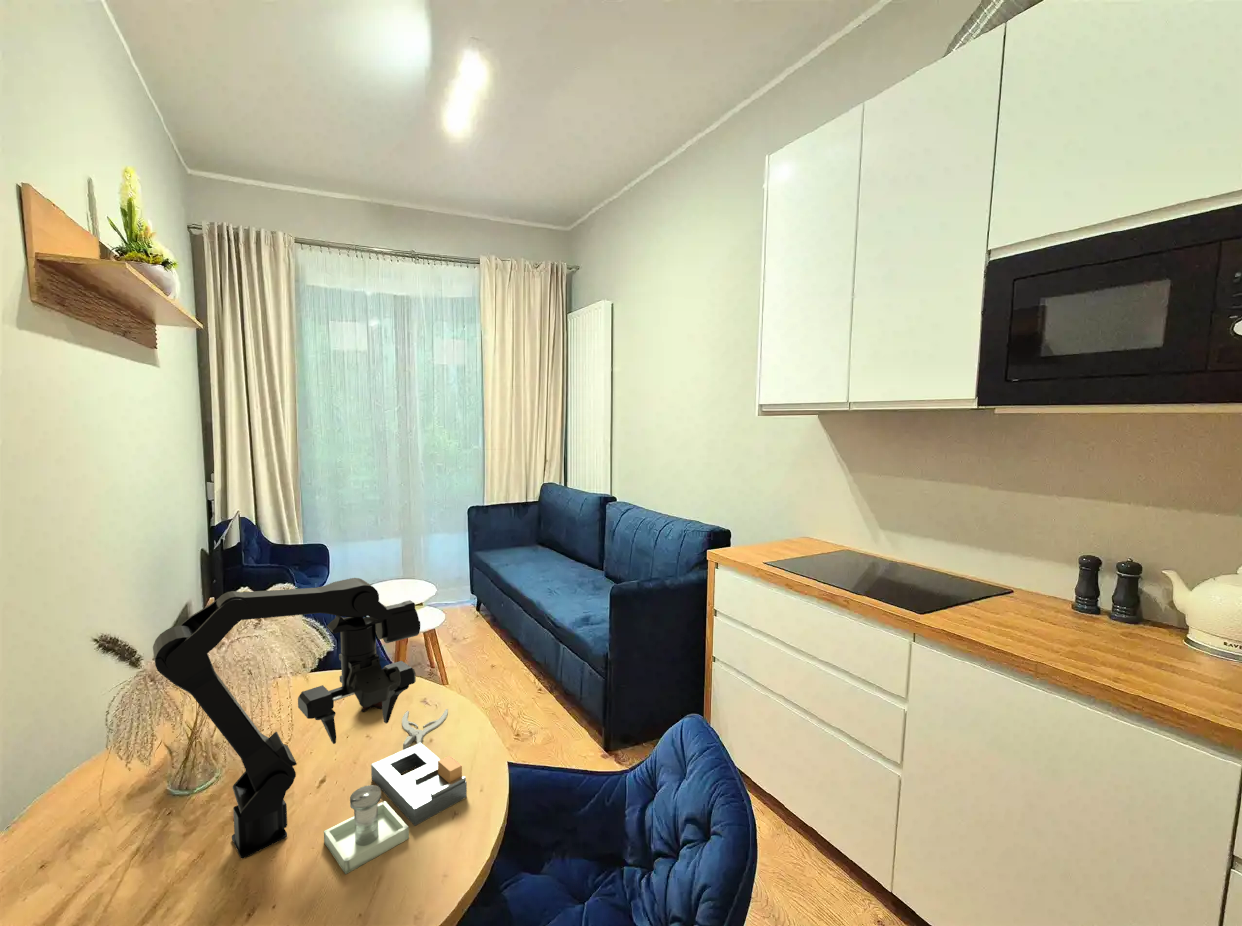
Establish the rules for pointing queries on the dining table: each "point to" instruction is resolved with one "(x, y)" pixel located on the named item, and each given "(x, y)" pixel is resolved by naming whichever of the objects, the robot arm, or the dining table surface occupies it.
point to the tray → (353, 855)
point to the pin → (366, 814)
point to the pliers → (419, 734)
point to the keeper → (449, 769)
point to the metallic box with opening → (417, 783)
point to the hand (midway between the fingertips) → (360, 732)
